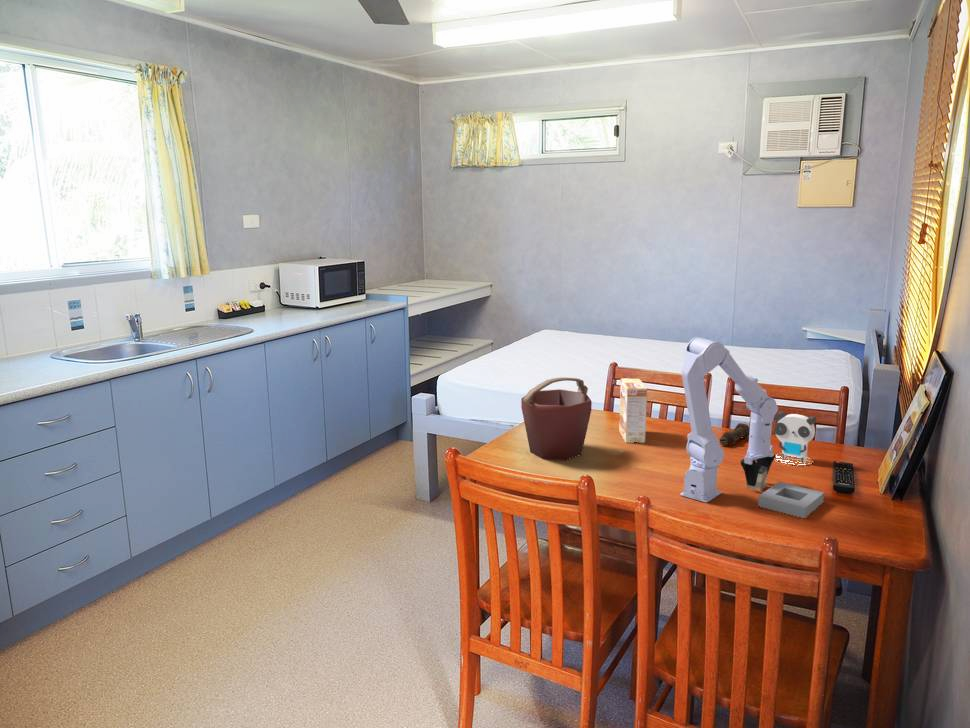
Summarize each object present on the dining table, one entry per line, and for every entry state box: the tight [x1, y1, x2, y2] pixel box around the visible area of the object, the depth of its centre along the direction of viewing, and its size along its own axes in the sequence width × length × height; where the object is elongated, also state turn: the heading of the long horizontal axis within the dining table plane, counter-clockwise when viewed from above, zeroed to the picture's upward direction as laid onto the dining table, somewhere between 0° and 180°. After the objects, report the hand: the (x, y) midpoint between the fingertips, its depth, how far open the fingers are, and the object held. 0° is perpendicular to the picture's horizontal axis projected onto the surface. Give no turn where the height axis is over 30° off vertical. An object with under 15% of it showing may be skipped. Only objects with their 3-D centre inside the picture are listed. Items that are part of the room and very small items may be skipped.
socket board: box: [757, 481, 825, 519], centre depth 190 cm, size 14×12×3 cm
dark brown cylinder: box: [718, 422, 750, 447], centre depth 242 cm, size 6×5×15 cm
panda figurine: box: [774, 411, 817, 467], centre depth 223 cm, size 12×11×15 cm
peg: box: [746, 466, 768, 492], centre depth 202 cm, size 4×4×6 cm
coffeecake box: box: [618, 377, 648, 444], centre depth 248 cm, size 15×7×20 cm, turn 178°
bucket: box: [520, 376, 593, 461], centre depth 231 cm, size 24×22×25 cm
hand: (756, 481), depth 202 cm, fingers open, 7 cm apart
